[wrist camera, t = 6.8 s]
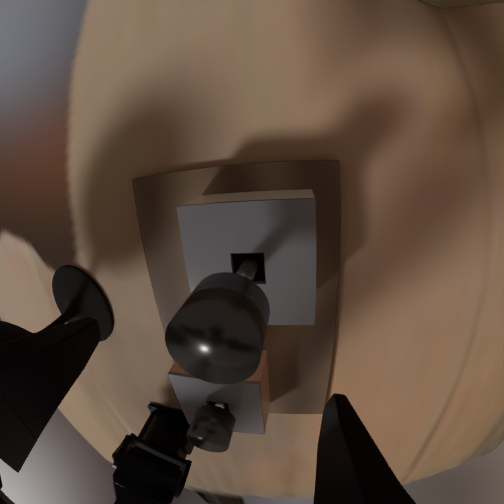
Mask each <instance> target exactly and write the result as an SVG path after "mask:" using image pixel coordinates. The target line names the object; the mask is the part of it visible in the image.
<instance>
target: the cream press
mask: <svg viewBox="0 0 504 504" xmlns="http://www.w3.org/2000/svg"><path fill="white" fill-rule="evenodd" d="M177 214H178V221H179V228H180V234H181V240H182V247H183V253H184V259H185V264H186V270H187V275H188V281H189V286H190V291H191V293H192V291H193V290H194V289H195V288H196V286H197V285H198V284H199V282H200V281H202V280H203V279H204V278H205V277H207V276H209V275H212V274H215V273H220V272H231V273H234V267H233V258H232V253H264V262H265V277H266V281H253V282H255V283H256V284H257V285H258V286H259V287H260V288H261V289H262V290H263V292H264V293H265V295H266V297H267V299H268V302H269V305H270V317H269V322H268V325H315V305H316V202H315V196H314V194H313V191H312V189H302V190H275V191H255V192H239V193H225V194H213V195H201V196H199V197H197V198H195V199H192V200H190V201H188V202H186V203H184V204H181V205H179V206H177Z"/></svg>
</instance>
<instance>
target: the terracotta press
mask: <svg viewBox="0 0 504 504" xmlns="http://www.w3.org/2000/svg"><path fill="white" fill-rule="evenodd" d="M168 376H169V378H170V381H171V384H172V386H173V389H174V391H175V394H176V396H177V398H178V401H179V403H180V406H181V408H182V410H183V412H184V415H185V417H186V419H187V421H188V424H190V425H191V422H192V420H193V418H194V415H195V413H196V410H197V408H198V407H200V406H202V405H214V404H215V402H219V403H226V406H225V409H226V410H228V411H229V412H231V413H232V414H233V415H234V417H235V419H236V422H235V426H234V429H233V432H242V433H252V434H265V429H266V423H267V418H268V412H269V406H270V394H269V379H268V364H267V350H262V354H261V359H260V363H259V366H258V368H257V370H256V372H255V373H254V374H253V375H252V376H251V377H249V378H248V379H246V380H244V381H242V382H239V383H235V384H226V385H223V384H214V383H209V382H206V381H203V380H200V379H198V378H196V377H194V376H192V375H191V374H189V373H188V372H186V371H185V370H184V369H182V368H181V367H180V366H179V365H178V364H177V363H176V362H175V363H174V364H173V366H172V368H171V369H170V371H169V373H168Z"/></svg>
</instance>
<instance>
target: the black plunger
mask: <svg viewBox="0 0 504 504" xmlns="http://www.w3.org/2000/svg"><path fill="white" fill-rule="evenodd" d="M257 268H258V266H257V263H256V262H255V261H254V260H253V259H245V260H244V261H243V262H242V264H241V265H240V267H239V269H238V271H237V273H231V272H220V273H215V274H212V275H209V276H207V277H205V278H204V279H203V280H202V281H200V282H199V284H198V285H197V286H196V288H195V289H194V290H193V291H192V293H191V294H190V295H189V297H188V298H187V299H186V301H185V302H184V303H183V305H182V306H181V307H180V309H179V310H178V311H177V313H176V314H175V315H174V317H173V318H172V319H171V321H170V322H169V324H168V326H167V328H166V332H165V342H166V346H167V349H168V351H169V353H170V355H171V356H172V358H173V359H174V361H175V362H176V363H177V364H178V365H179V366H180V367H181V368H182V369H184V370H185V371H186V372H188V373H189V374H191V375H192V376H194V377H196V378H198V379H200V380H203V381H206V382H209V383H214V384H223V385H226V384H235V383H239V382H242V381H244V380H246V379H248V378H249V377H251V376H252V375H253V374H254V373H255V372H256V370H257V368H258V366H259V363H260V359H261V354H262V350H263V345H264V341H265V336H266V331H267V327H268V322H269V317H270V305H269V302H268V299H267V297H266V295H265V293H264V292H263V290H262V289H261V288H260V287H259V286H258V285H257V284H256V283H255V282H253V279H254V276H255V274H256V271H257Z"/></svg>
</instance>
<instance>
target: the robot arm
mask: <svg viewBox="0 0 504 504" xmlns="http://www.w3.org/2000/svg"><path fill="white" fill-rule="evenodd" d="M100 339H101V333H100V327H99V322H98V320H96V319H94V318H92V317H85V318H82V319H79V320H76V321H73V322H69V323H66V324H63V325H60V326H57V327H54V328H51V329H48V330H44V331H41V332H38V333H35V334H32V335H29V336H25V337H22V338H19V339H17V340H12V341H9V342H6V343H2V344H0V459H2V460H3V461H4V462H5V463H7V464H8V465H9V466H10V467H12V468H13V469H14V470H15V471H16V472H19V471H20V469H21V467H22V466H23V464H24V462H25V460H26V458H27V457H28V455H29V453H30V452H31V450H32V448H33V446H34V445H35V443H36V441H37V439H38V438H39V436H40V434H41V433H42V431H43V429H44V428H45V426H46V425H47V423H48V422H49V420H50V418H51V417H52V415H53V414H54V412H55V411H56V409H57V408H58V406H59V405H60V403H61V401H62V400H63V399H64V397H65V396H66V394H67V393H68V391H69V390H70V388H71V387H72V385H73V384H74V382H75V381H76V379H77V378H78V377H79V375H80V374H81V372H82V371H83V369H84V368H85V366H86V364H87V363H88V361H89V359H90V357H91V355H92V354H93V352H94V350H95V348H96V347H97V345H98V343H99V341H100ZM148 409H149V411H150V412H151V414H150V416H149V418H148V419H147V421H146V423H145V425H144V427H143V428H142V430H141V432H140V434H139V436H138V437H137V436H135V434H133V433H131V435H126V436H125V438H124V440H123V442H122V443H121V444H120V446H119V447H118V448H117V449H116V450H115V452H114V453H113V454H112V458H113V460H114V461H113V466H112V468H114V469H115V472H114V474H113V490H114V495H115V500H116V501H115V503H114V504H170V503H171V502H172V500H173V498H178V497H179V495H180V494H181V492H182V490H183V488H184V485H185V482H186V479H187V476H188V473H189V469H190V466H191V463H192V461H190V460H186V459H185V458H186V456H187V454H188V455H190V454H191V452H192V450H193V447H194V445H193V444H192V443H190V442H189V441H188V440H187V438H186V434H187V432H188V430H189V427H190V424H188V421H187V419H186V417H185V415H184V412H183V411H179V410H174V409H170V408H165V407H161V406H157V405H153V404H149V405H148ZM388 466H389V465H388V463H387V462H386V460H385V458H384V457H383V455H382V454H381V452H380V450H379V449H378V447H377V445H376V444H375V442H374V441H373V439H372V437H371V436H370V434H369V433H368V431H367V429H366V428H365V426H364V424H363V423H362V421H361V420H360V418H359V416H358V415H357V413H356V412H355V410H354V408H353V407H352V405H351V403H350V402H349V400H348V399H347V397H346V396H345V395H343V394H333V395H332V397H331V398H330V400H329V401H328V403H327V404H326V406H325V407H324V410H323V416H322V423H321V429H320V436H319V441H318V449H317V466H316V481H315V493H314V504H416V503H415V502H414V500H413V499H412V498H411V497H410V495H409V494H408V493H407V492H406V490H405V489H404V488H403V486H402V485H401V484H400V482H399V481H398V479H397V478H396V476H395V475H394V473H393V471H392V470H391V468H390V467H388ZM1 488H2V481H1V476H0V489H1ZM0 504H14V503H13V502H12V501H11V500H10V499H9V498H8V497H7V496H6V495H5V494H4V493H3V492H2V491H1V490H0Z"/></svg>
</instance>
